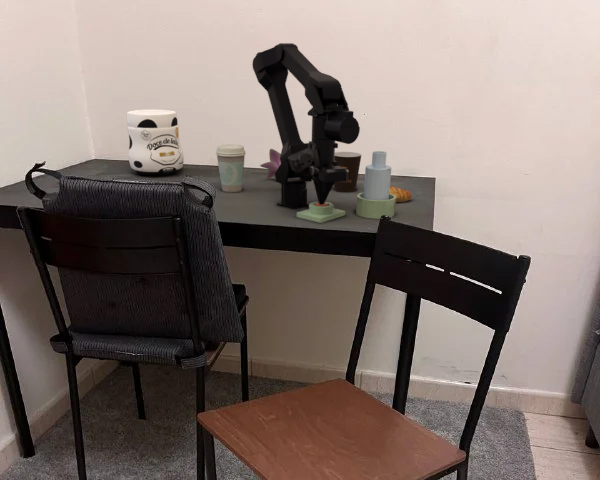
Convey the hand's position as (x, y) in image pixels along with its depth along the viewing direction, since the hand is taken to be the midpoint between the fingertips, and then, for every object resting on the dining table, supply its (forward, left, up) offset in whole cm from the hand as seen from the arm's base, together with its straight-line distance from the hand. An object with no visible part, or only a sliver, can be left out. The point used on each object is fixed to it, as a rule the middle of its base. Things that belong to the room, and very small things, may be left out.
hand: (321, 204), depth 156 cm
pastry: (+4, +28, -3) cm, 28 cm away
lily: (-35, +24, -3) cm, 43 cm away
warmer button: (0, 0, -2) cm, 2 cm away
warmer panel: (0, 0, -3) cm, 3 cm away
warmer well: (+9, +12, -3) cm, 15 cm away
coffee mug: (-15, +29, -3) cm, 33 cm away
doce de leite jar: (-72, +5, -3) cm, 73 cm away
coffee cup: (-37, +5, -3) cm, 38 cm away
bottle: (+9, +12, -2) cm, 15 cm away
